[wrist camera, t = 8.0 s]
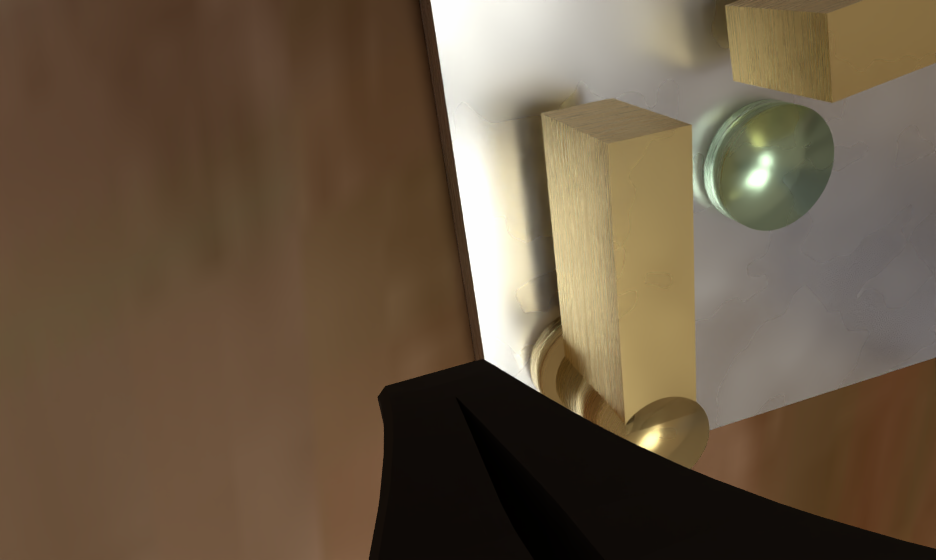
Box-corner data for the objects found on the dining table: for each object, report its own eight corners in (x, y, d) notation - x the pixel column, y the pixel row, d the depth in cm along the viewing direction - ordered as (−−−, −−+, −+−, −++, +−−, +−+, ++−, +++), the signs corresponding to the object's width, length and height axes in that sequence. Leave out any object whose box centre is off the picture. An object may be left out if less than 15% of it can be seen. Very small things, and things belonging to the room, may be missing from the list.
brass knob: (635, 388, 20) (722, 477, 16) (535, 418, 19) (605, 516, 16) (618, 86, 17) (722, 117, 13) (498, 111, 16) (574, 151, 13)
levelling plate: (1016, -224, 18) (1094, -243, 16) (939, 333, 24) (990, 359, 22) (396, -144, 15) (418, -157, 13) (493, 473, 21) (516, 515, 19)
